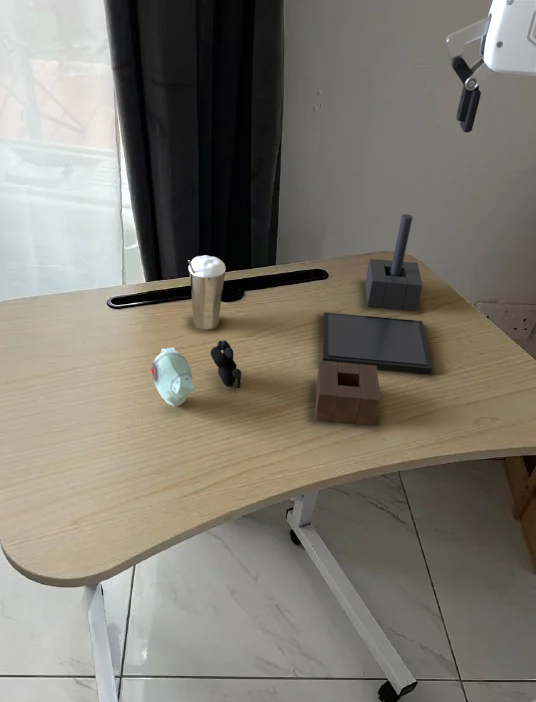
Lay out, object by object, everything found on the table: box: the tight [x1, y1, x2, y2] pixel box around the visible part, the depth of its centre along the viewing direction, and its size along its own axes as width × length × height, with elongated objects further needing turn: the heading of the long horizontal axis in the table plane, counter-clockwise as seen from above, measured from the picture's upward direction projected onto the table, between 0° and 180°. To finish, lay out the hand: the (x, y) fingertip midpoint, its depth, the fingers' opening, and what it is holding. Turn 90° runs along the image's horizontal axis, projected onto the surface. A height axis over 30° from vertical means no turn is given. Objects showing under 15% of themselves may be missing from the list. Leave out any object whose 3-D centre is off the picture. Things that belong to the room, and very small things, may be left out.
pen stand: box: [314, 359, 381, 426], centre depth 73 cm, size 6×6×4 cm
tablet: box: [322, 311, 433, 375], centre depth 84 cm, size 13×11×1 cm
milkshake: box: [187, 254, 227, 331], centre depth 83 cm, size 5×5×10 cm
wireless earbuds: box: [210, 339, 242, 390], centre depth 75 cm, size 7×2×5 cm, turn 19°
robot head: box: [151, 347, 196, 407], centre depth 71 cm, size 8×4×7 cm, turn 20°
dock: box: [364, 258, 424, 312], centre depth 93 cm, size 7×7×4 cm
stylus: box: [390, 213, 413, 277], centre depth 90 cm, size 1×1×12 cm
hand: (512, 132), depth 69 cm, fingers open, 9 cm apart
